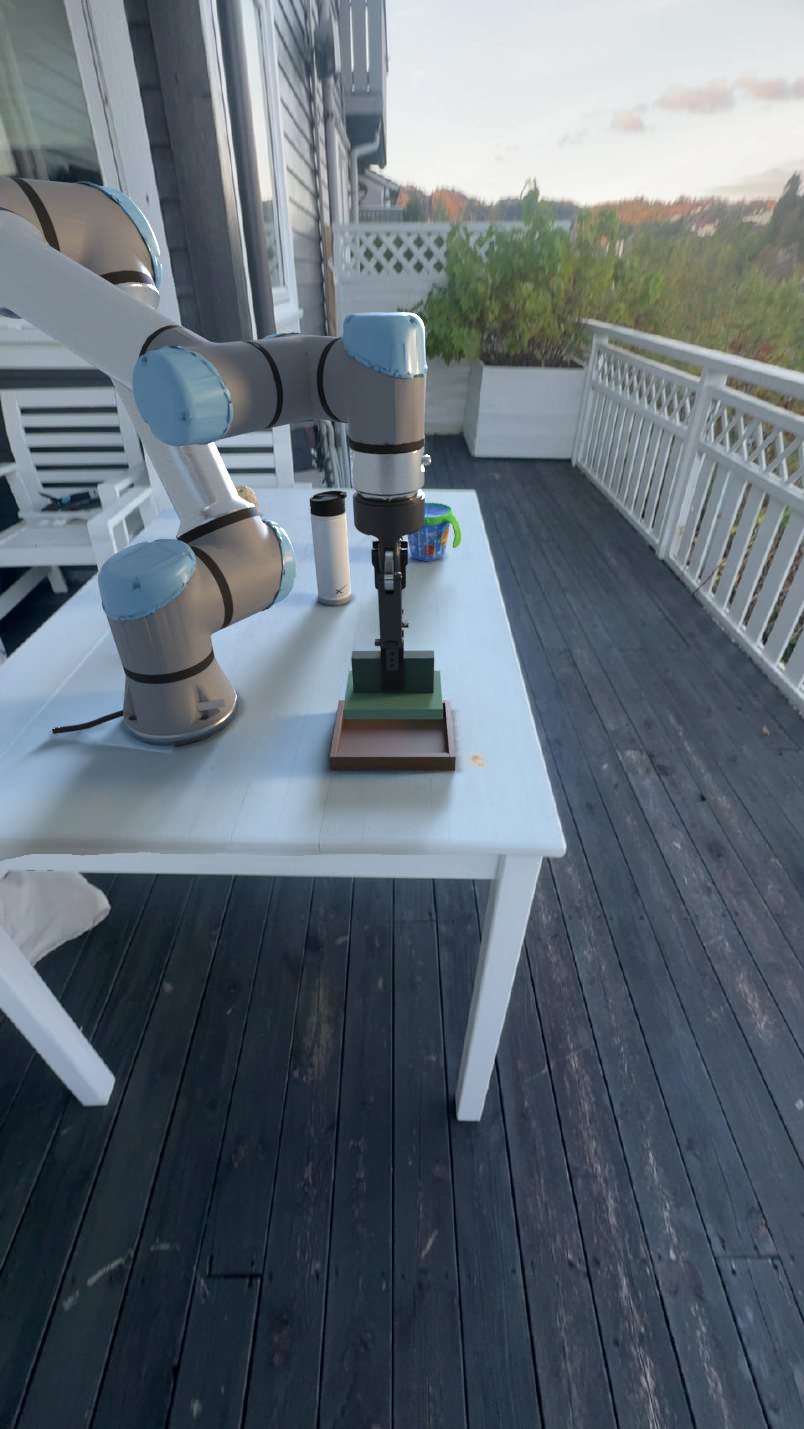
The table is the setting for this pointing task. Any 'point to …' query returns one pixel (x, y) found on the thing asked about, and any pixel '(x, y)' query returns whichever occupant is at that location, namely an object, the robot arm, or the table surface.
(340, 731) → the back frame
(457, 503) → the table surface
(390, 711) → the back pad
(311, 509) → the travel mug
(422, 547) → the snack cup
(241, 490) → the sponge
